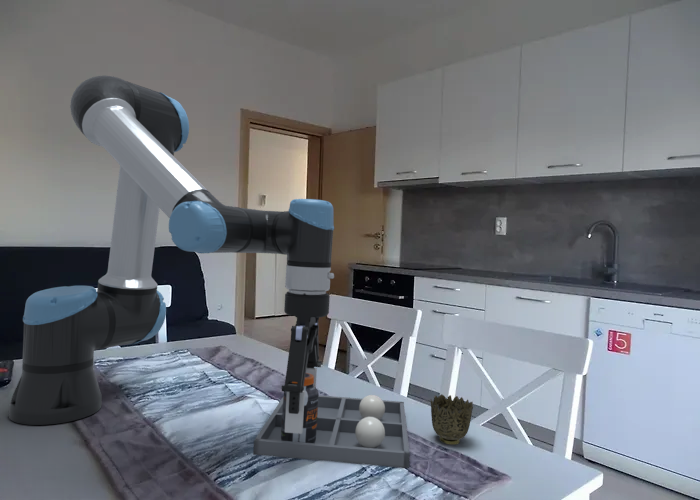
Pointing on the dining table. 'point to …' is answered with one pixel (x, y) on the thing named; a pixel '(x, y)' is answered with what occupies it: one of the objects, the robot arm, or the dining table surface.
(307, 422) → the pill bottle
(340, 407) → the egg tray
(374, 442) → the egg ball
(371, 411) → the egg ball
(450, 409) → the cup
